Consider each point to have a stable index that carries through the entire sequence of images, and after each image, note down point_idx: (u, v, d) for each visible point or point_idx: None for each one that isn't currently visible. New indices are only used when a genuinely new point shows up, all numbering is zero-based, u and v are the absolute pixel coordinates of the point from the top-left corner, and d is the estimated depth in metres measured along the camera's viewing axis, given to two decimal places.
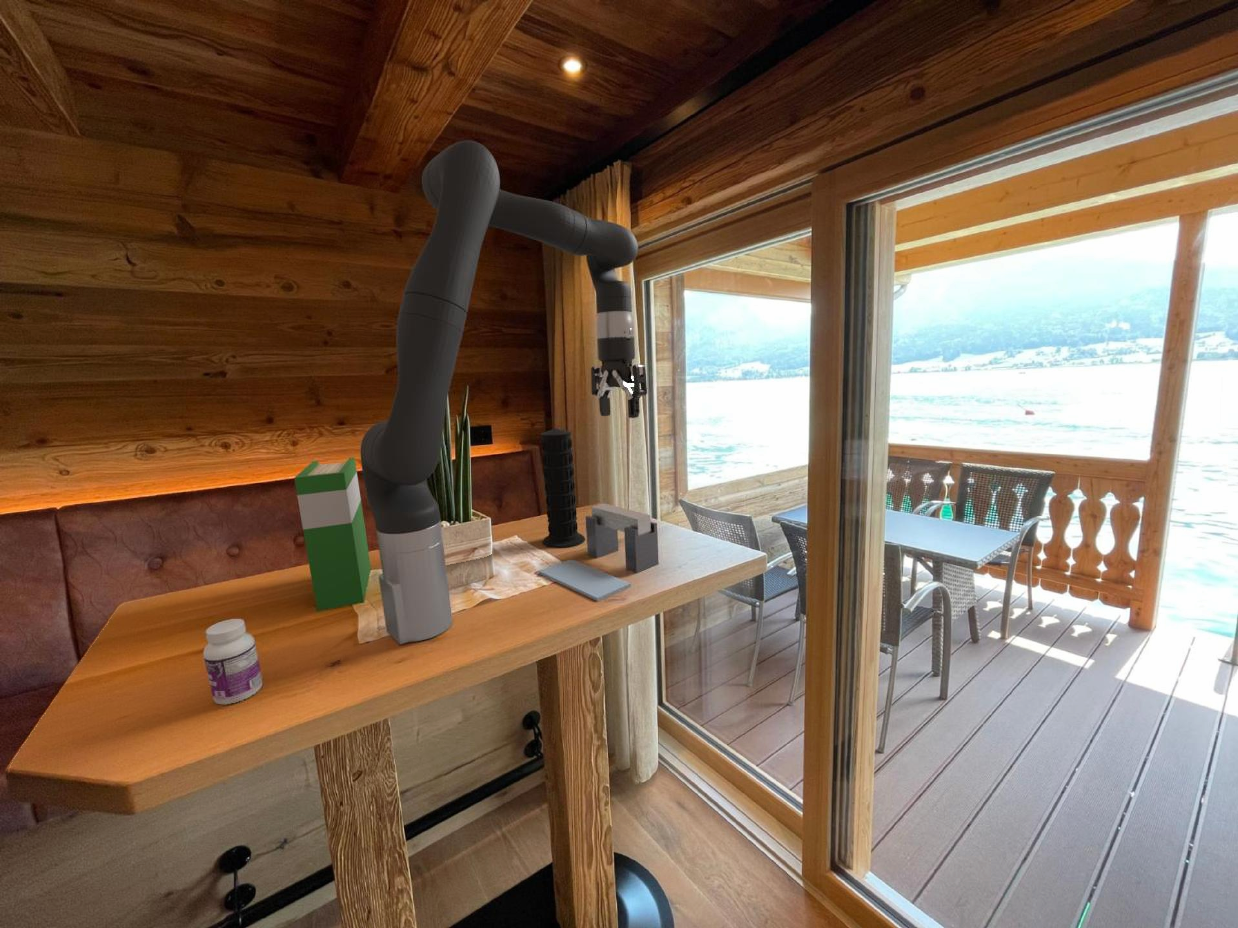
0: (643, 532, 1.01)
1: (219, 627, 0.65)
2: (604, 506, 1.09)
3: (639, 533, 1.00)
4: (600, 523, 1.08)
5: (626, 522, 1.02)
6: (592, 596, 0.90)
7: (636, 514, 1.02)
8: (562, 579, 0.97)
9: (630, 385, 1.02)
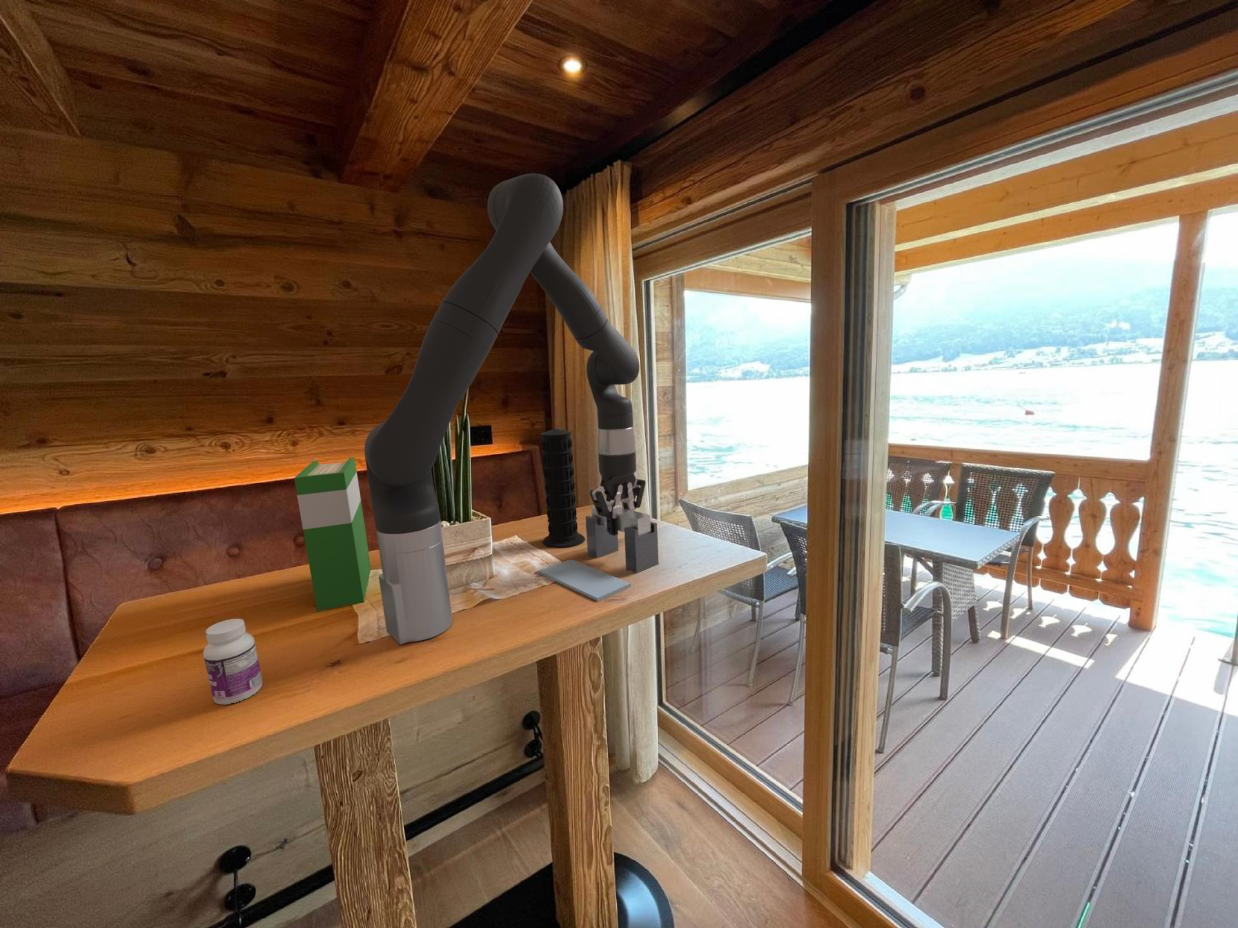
0: (643, 532, 1.01)
1: (219, 627, 0.65)
2: None
3: (639, 533, 1.00)
4: (600, 523, 1.08)
5: (626, 522, 1.02)
6: (592, 596, 0.90)
7: (636, 514, 1.02)
8: (562, 579, 0.97)
9: None
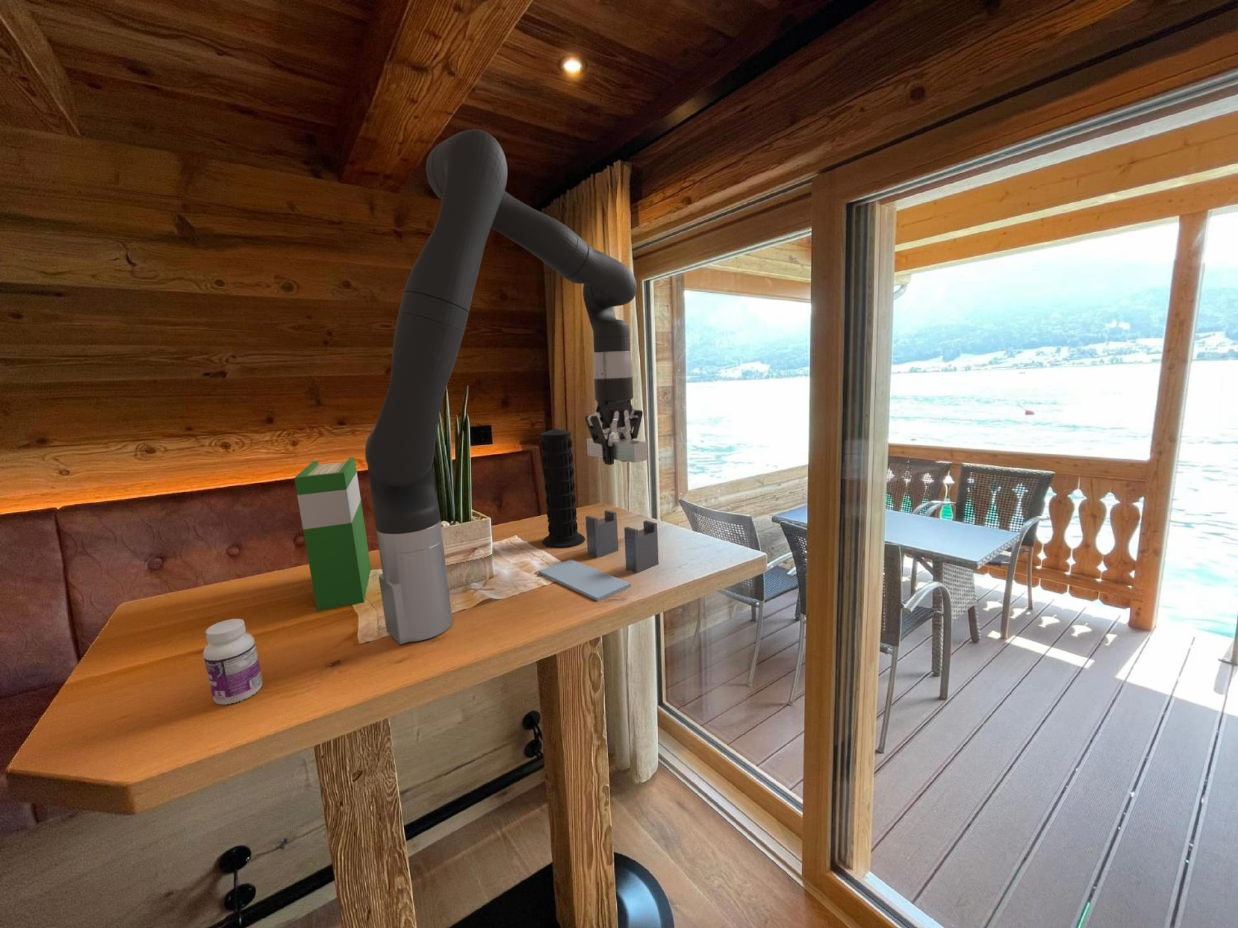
0: (640, 459, 0.98)
1: (219, 627, 0.65)
2: None
3: (635, 459, 0.97)
4: (596, 454, 1.05)
5: (622, 449, 0.99)
6: (592, 596, 0.90)
7: (632, 441, 1.00)
8: (562, 579, 0.97)
9: None
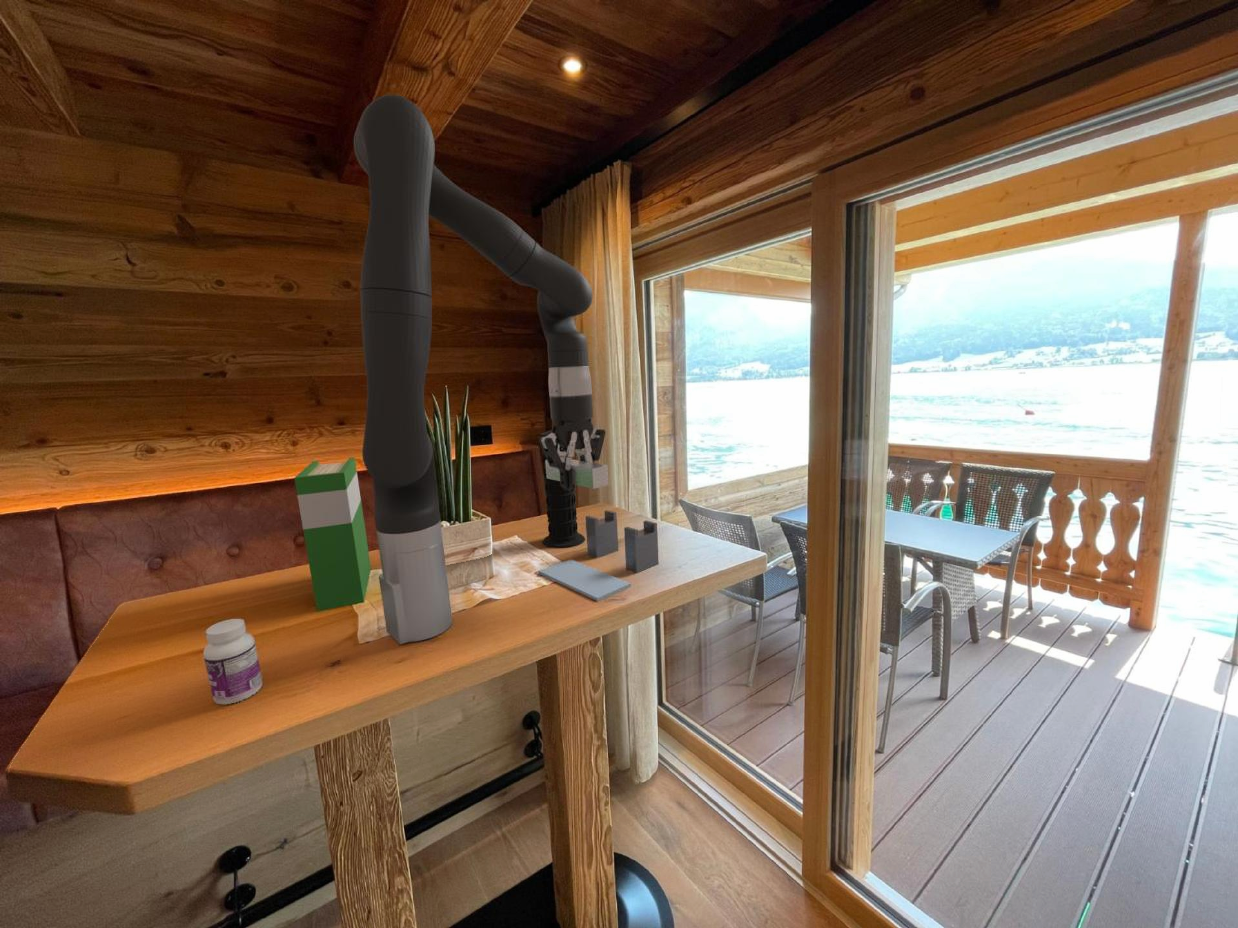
0: (600, 484, 0.89)
1: (219, 627, 0.65)
2: None
3: (594, 485, 0.88)
4: (554, 478, 0.96)
5: (580, 473, 0.90)
6: (592, 596, 0.90)
7: (592, 465, 0.91)
8: (562, 579, 0.97)
9: None
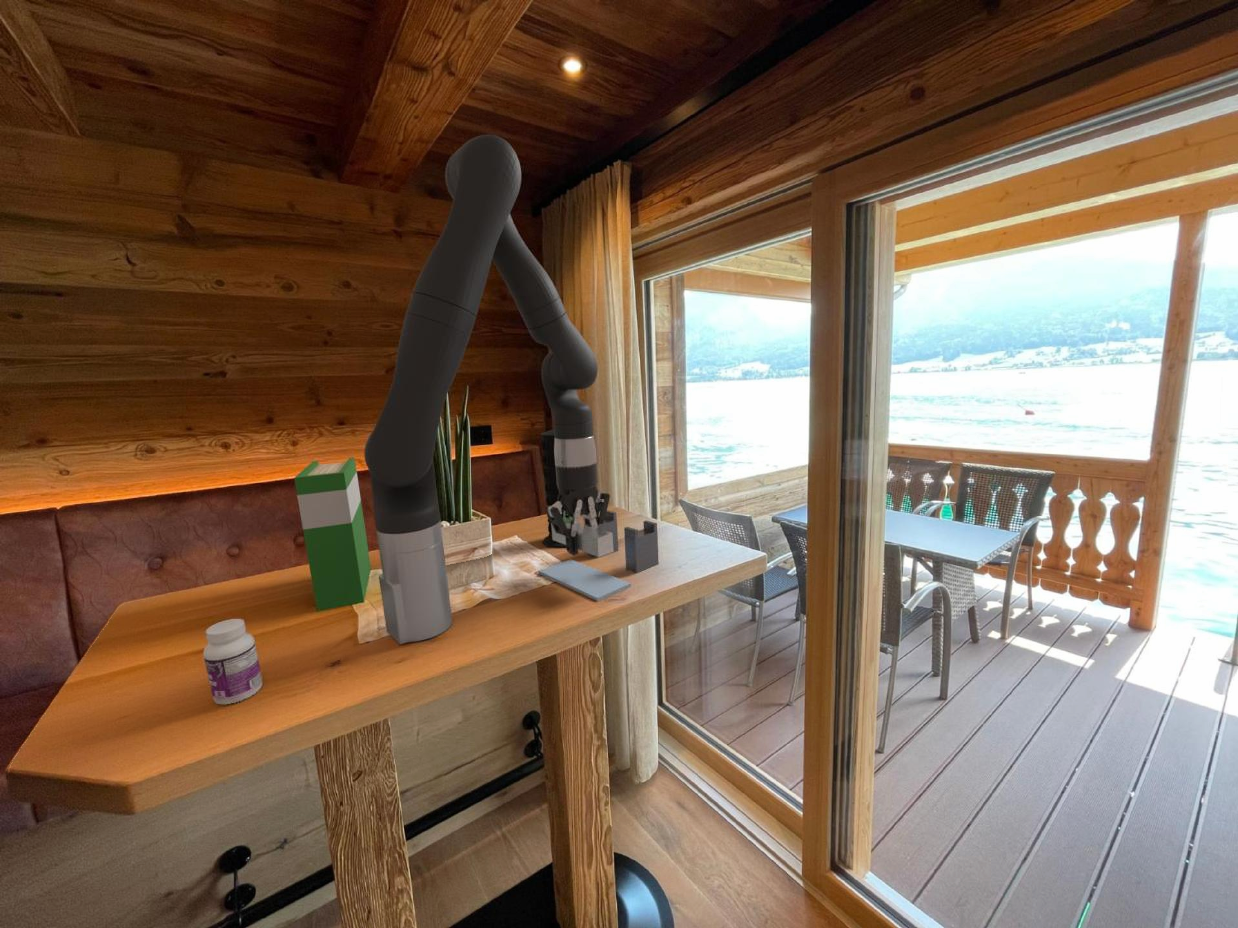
0: (605, 552, 0.91)
1: (219, 627, 0.65)
2: None
3: (600, 553, 0.90)
4: (560, 541, 0.98)
5: (586, 540, 0.92)
6: (592, 596, 0.90)
7: (597, 531, 0.93)
8: (562, 579, 0.97)
9: None
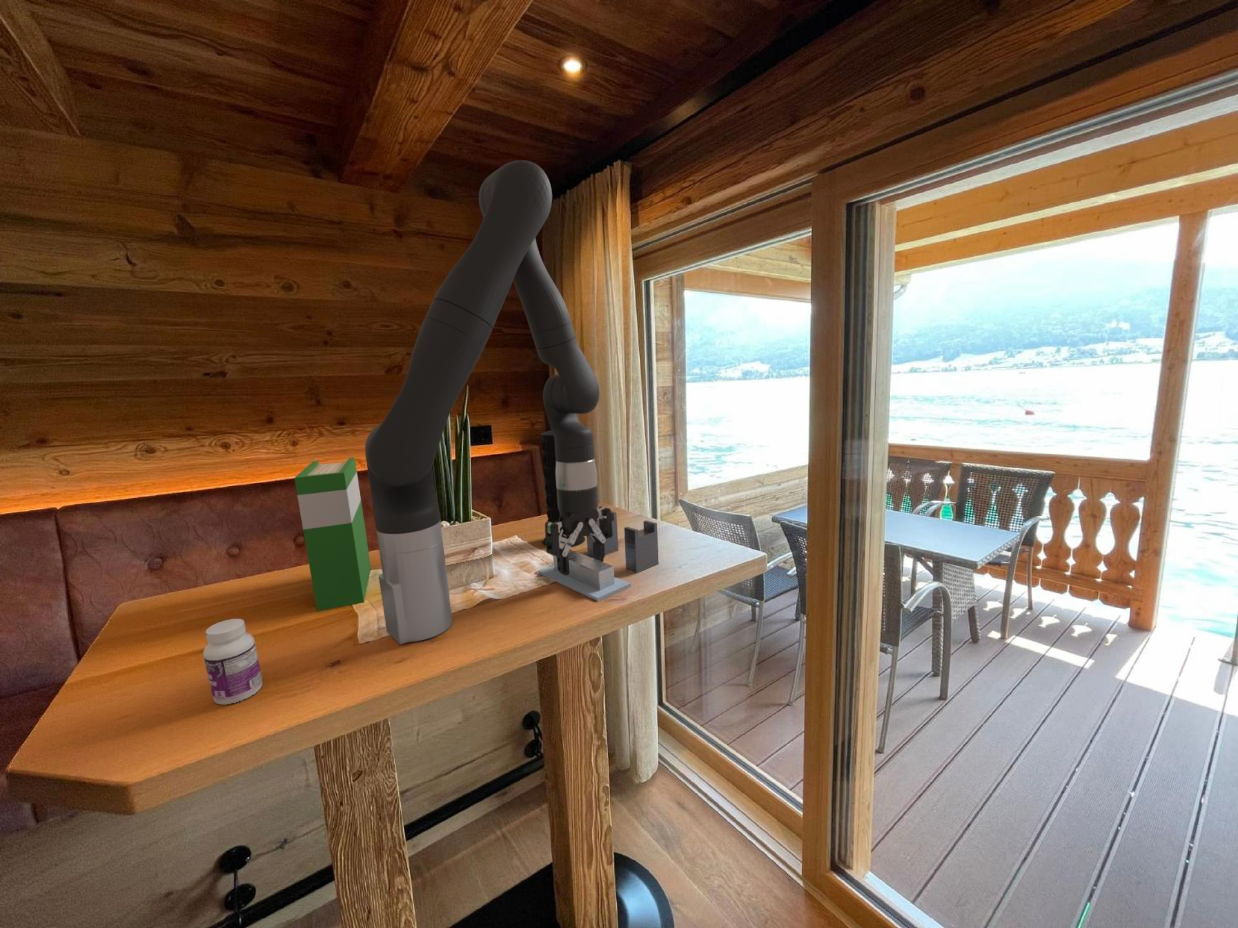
0: (606, 585, 0.93)
1: (219, 627, 0.65)
2: None
3: (601, 587, 0.92)
4: None
5: (587, 573, 0.94)
6: (592, 596, 0.90)
7: (598, 564, 0.94)
8: (562, 579, 0.97)
9: None
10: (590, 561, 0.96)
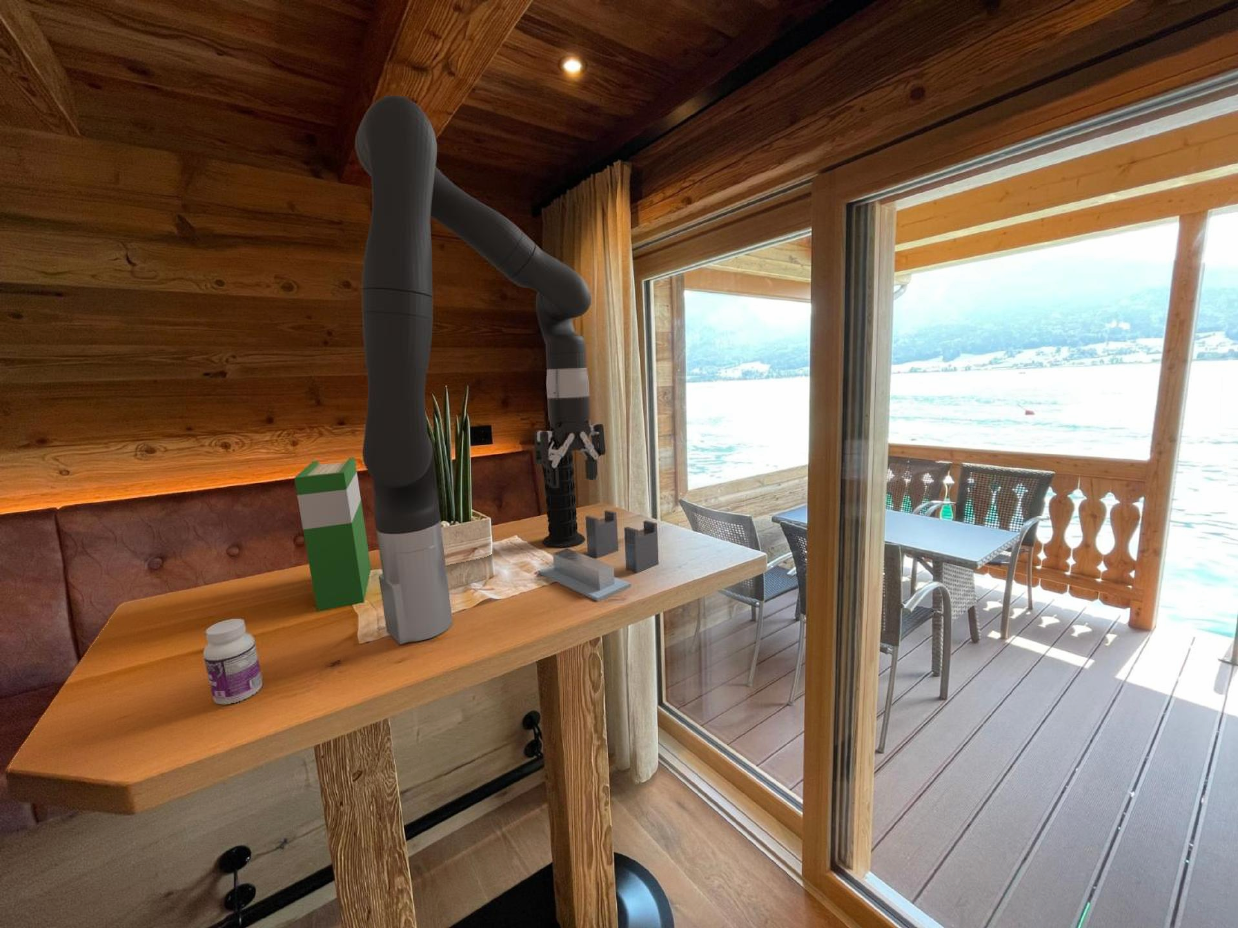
0: (606, 585, 0.93)
1: (219, 627, 0.65)
2: (566, 553, 1.01)
3: (601, 587, 0.92)
4: (562, 571, 1.00)
5: (587, 573, 0.94)
6: (592, 596, 0.90)
7: (598, 564, 0.94)
8: (562, 579, 0.97)
9: None
10: (590, 561, 0.96)
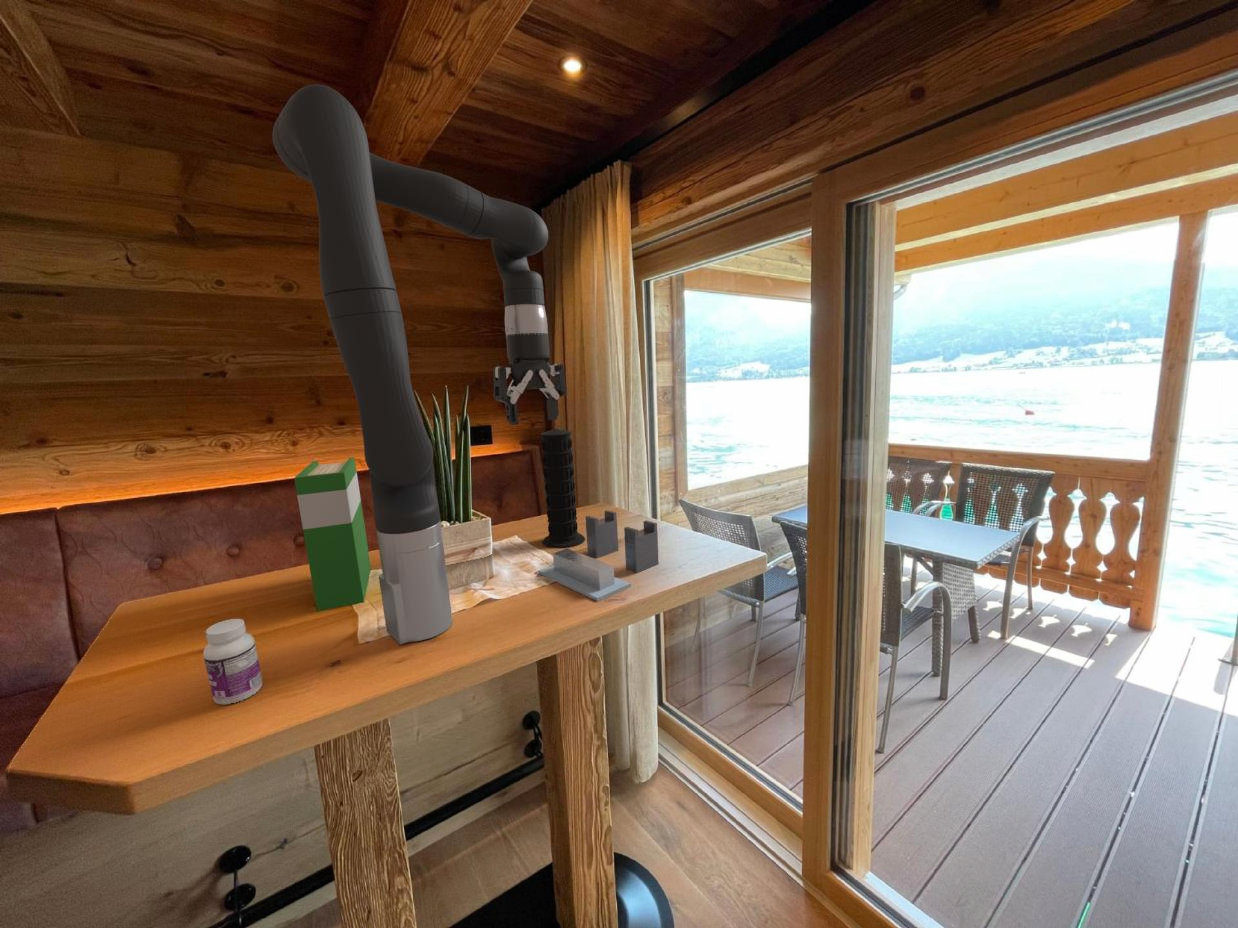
0: (606, 585, 0.93)
1: (219, 627, 0.65)
2: (566, 553, 1.01)
3: (601, 587, 0.92)
4: (562, 571, 1.00)
5: (587, 573, 0.94)
6: (592, 596, 0.90)
7: (598, 564, 0.94)
8: (562, 579, 0.97)
9: None
10: (590, 561, 0.96)
